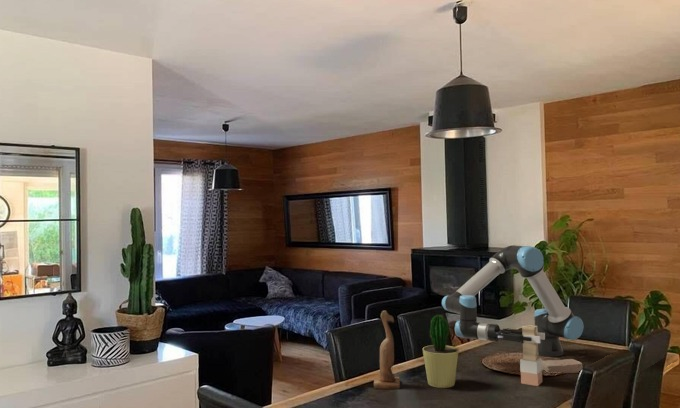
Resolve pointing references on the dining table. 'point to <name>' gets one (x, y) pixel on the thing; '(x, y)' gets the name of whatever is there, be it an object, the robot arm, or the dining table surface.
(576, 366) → the brick
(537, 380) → the tower base
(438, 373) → the potted cactus
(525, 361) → the tower top
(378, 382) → the bird sculpture
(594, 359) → the dining table surface
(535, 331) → the oak pillar
